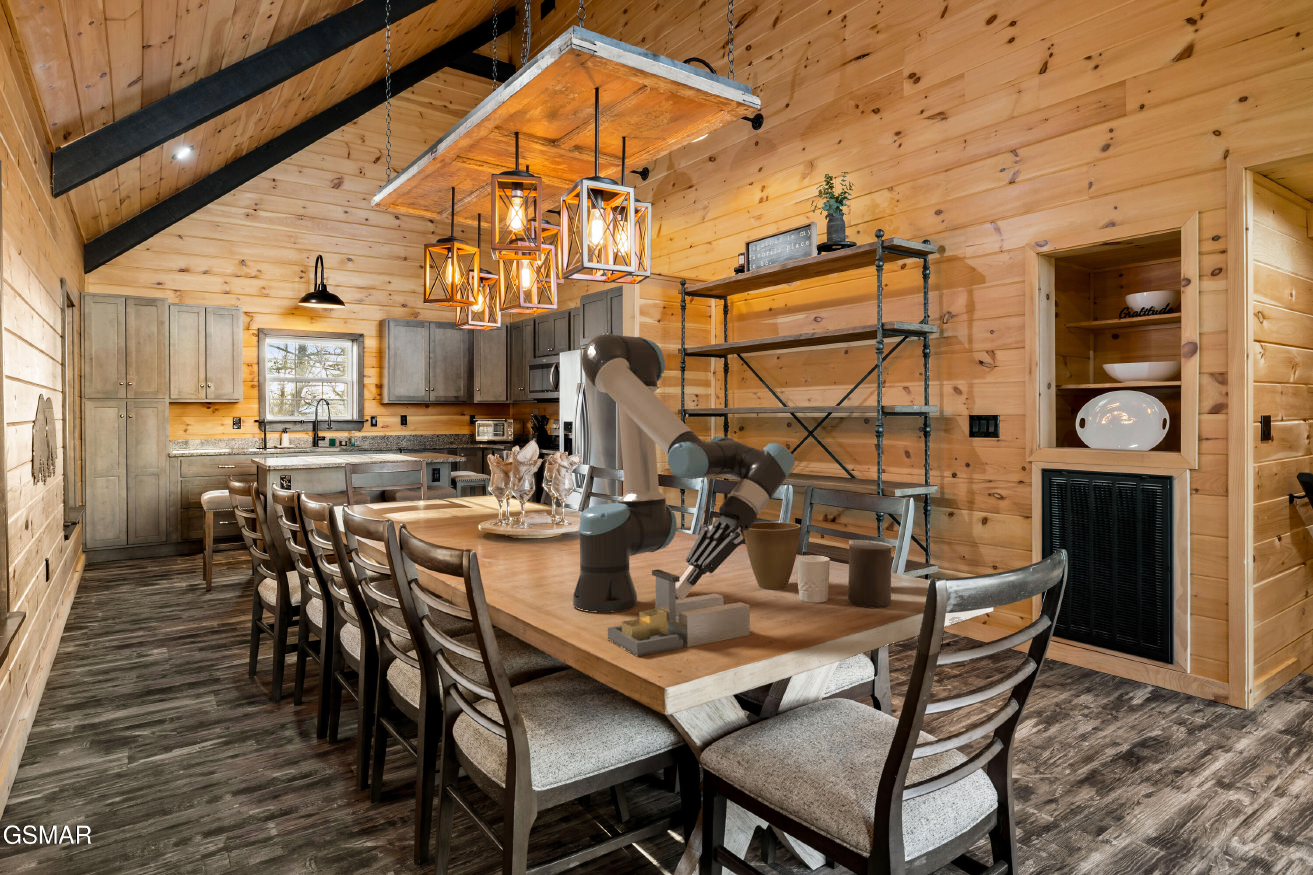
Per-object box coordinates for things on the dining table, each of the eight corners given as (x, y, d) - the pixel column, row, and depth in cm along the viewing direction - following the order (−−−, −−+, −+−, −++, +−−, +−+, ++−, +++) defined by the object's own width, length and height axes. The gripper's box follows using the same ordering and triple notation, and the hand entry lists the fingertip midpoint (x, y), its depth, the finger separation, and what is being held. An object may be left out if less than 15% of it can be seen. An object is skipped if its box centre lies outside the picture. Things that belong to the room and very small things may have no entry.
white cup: (830, 604, 171) (830, 561, 171) (796, 602, 172) (796, 560, 172) (829, 596, 179) (829, 555, 178) (796, 595, 180) (796, 554, 180)
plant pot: (793, 579, 198) (792, 520, 197) (807, 592, 183) (807, 528, 183) (738, 580, 197) (738, 521, 197) (748, 593, 182) (748, 529, 182)
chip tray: (651, 632, 149) (651, 620, 149) (683, 647, 139) (682, 634, 139) (607, 640, 144) (607, 627, 144) (637, 656, 134) (637, 643, 134)
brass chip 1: (639, 618, 143) (621, 621, 141) (649, 623, 140) (631, 626, 137) (639, 638, 143) (621, 642, 141) (650, 644, 140) (631, 647, 138)
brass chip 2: (657, 627, 145) (656, 607, 145) (668, 632, 142) (667, 612, 141) (640, 631, 143) (639, 611, 143) (650, 636, 140) (649, 616, 139)
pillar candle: (866, 609, 165) (867, 544, 165) (839, 600, 174) (840, 537, 174) (900, 605, 169) (901, 541, 169) (872, 596, 178) (872, 535, 178)
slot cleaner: (658, 613, 148) (658, 569, 147) (679, 622, 141) (679, 576, 140) (652, 614, 147) (651, 570, 147) (673, 623, 140) (672, 577, 140)
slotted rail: (715, 621, 157) (715, 593, 157) (749, 634, 147) (749, 605, 147) (655, 631, 150) (655, 602, 149) (687, 647, 139) (687, 615, 139)
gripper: (773, 521, 148) (706, 614, 140) (735, 514, 160) (671, 600, 152) (752, 496, 146) (682, 590, 138) (715, 491, 157) (649, 578, 149)
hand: (677, 595), depth 145 cm, fingers closed
